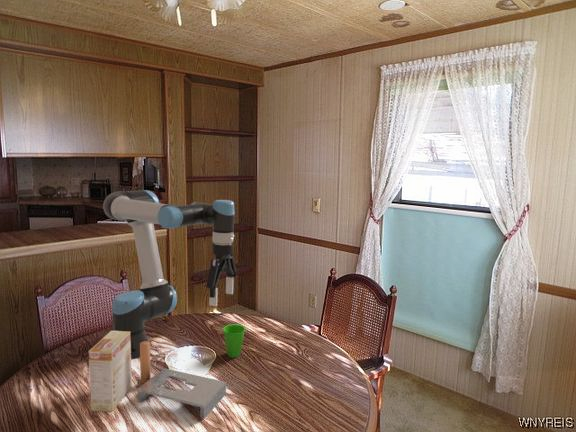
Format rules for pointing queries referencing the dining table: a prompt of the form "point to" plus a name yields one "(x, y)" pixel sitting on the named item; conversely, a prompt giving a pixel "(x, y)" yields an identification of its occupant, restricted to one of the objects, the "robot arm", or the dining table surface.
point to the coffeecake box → (110, 370)
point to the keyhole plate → (201, 395)
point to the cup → (234, 339)
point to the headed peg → (144, 363)
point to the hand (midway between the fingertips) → (221, 299)
